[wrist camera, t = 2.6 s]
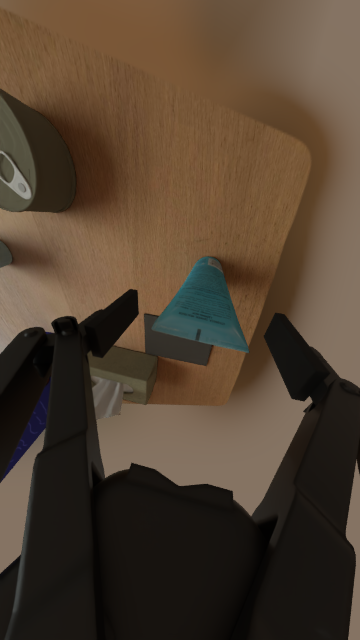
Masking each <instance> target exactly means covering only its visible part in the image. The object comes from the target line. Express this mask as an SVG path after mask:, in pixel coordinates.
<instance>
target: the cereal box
mask: <svg viewBox="0 0 360 640" xmlns="http://www.w3.org/2000/svg"><path fill="white" fill-rule="evenodd" d="M46 333H49V332H46ZM50 383H51V375H50V377H49V379H48V381H47V383H46V386H45V388H44V390H43V392H42V394H41V396H40V399H39V401H38V403H37V405H36V407H35V409H34V412H33V414H32V416H31V418H30V420H29V422H28V424H27V427H26V429H25V431H24V433H23V435H22V437H21V440H20V442H19V444H18V446H17V448H16V450H15V452H14V455H13V457H12V459H11V461H10V463H9V465H8V468H7V470H6V472H5V474H4V476H3V478H2V480H3V479H4V478H5V476H6V475H7V474H8V473H9V472H10V470H11V469H12V468H13V466H15V464H16V463H17V462H18V461H19V459H20V458H21V457H22V456H23V455H24V453H25V452H26V451H27V450H28V449H29V447H30V446H31V445H32V444H33V442H34V441H35V440H36V439H37V438H38V436H39V435H40V434H41V433H42V432H43V430H44V429H45V428H46V420H47V410H48V401H49V392H50ZM2 480H1V481H2Z"/></svg>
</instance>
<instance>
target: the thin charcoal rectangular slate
mask: <svg viewBox="0 0 360 640" xmlns="http://www.w3.org/2000/svg"><path fill="white" fill-rule="evenodd" d="M158 317H159V316H156V315H150V314H144V324H145V352H146V354H151V355H156V356H161V357H165V358H170V359H175V360H180V361H184V362H189V363H194V364H199V365H204V366H206V365H207V362H208V358H209V354H210V351H211V347H212V345H211V344H207V343H202V342H198V341H195V340H190V339H186V338H181V337H178V336H173V335H169V334H165V333H162V332H158V331H154V330H152V329H151V328H152V326H153V324H154V322H155V321H156V320H157V318H158Z"/></svg>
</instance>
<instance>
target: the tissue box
mask: <svg viewBox="0 0 360 640" xmlns="http://www.w3.org/2000/svg"><path fill="white" fill-rule="evenodd" d="M87 355H88V359H89V367H90V375H91V383H92V391H93V399H94V407H95V415H96V420H97V419H100V418H104V417H106V418H107V417H111V416H114V415H120V410H121V404H122V399H125V400H129V401H132V402H136V403H140V404H144V405H146V404H147V403H148V400H149V398H150V395H151V393H152V390H153V386H154V384H155V381H156V374H157V361H158V357H157V356H153V355H148V354H144V353H140V352H136V351H132V350H127V349H123V348H119V347H115V346H112V347H111V348H110V350H109V351H108V352H107V353H106V354H105V356H104V357H103V358H99V357H94V356H92V352H91V351H90V352H89V353H88V354H87Z"/></svg>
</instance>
